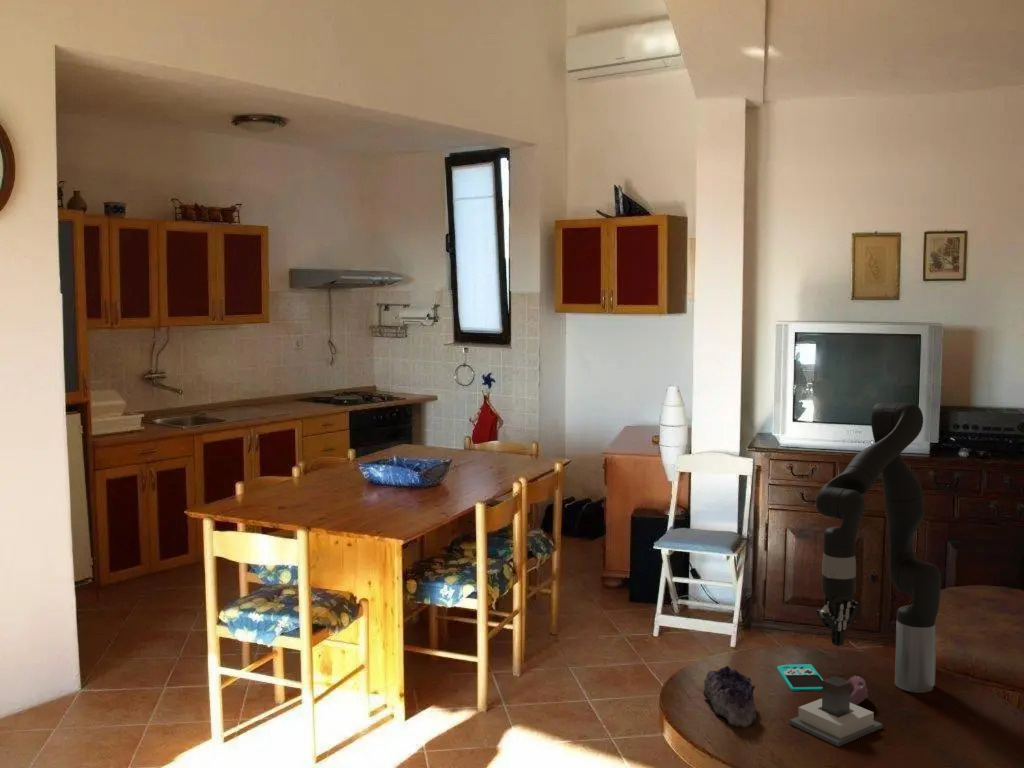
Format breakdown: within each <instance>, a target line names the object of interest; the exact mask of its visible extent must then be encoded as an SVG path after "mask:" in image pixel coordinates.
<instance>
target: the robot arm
mask: <svg viewBox="0 0 1024 768" xmlns="http://www.w3.org/2000/svg"><path fill="white" fill-rule="evenodd" d="M870 424H871V432H872V437H873V441H874V443H873V444H870V445H869V446H867V447H866V448H864V449H862V450H860V451H859V452H858V453H857V454H856V455H855V456H854V457H853V458H852V459H851V460H850V462H849V463H848V465H847V466H846V467H845V469H844V470H843V472H841V473H839V474H838V475H837V476H835V477H834V478H832V479H831V480H829V481H828V482H827V483H825V484H824V485H823V486H822V487H821V489H820V490H819V492H818V493H817V495H816V499H815V507H816V509H817V511H818V513H819V514H821V515H822V516H824V517H828V518H832V519H833V518H834V519H839V520H842V523H841V526H830V527H827V528H826V529H825V530H824V532H823V553H822V559H821V560H822V561H821V591H822V593H824V600H823V605H824V606H823V607H822V608H821V609H817V610H816V614H817V616H818V618H819V619H820V622H821V623H822V624H823V626H824V627H825V628H827V629H830V630H831V639H830V640H831V643H832V645H834V646H837V647H841V646H843V645H844V644H845V630H846V629H847V626H851V624H852V622H853V620H854V618H855V616H856V615H857V611H858V609H859V607H860V602H858V601H855V600H854V595H855V594H856V592H857V591H856V590H857V560H856V538H857V534H858V530H859V526H860V523H861V520H862V518H863V513H864V512H865V499H864V497H863V495H865V494H867V493H868V492H869V490H870V489H871V488H872V486H873V485H874V483H876V481H877V479H878V477H879V476H880V475H881V476H880V477H881V482H882V491H883V492H882V493H883V501H884V509H885V514H886V515H885V516H886V520H887V521H886V522H887V531H888V539H889V540H888V541H889V573H890V580H891V583H892V585H893V588H895V589H896V590H897V591H898V592H899V591H900V592H901V593H903V594H906V595H908V596H909V595H910V596H913V597H912V598H913V599H912V604H908V605H903V606H899V607H898V609H897V611H896V628H895V658H894V660H895V664H894V685H895V686H896V687H897V688H899V689H900V690H903V691H906V692H910V693H917V694H925V693H929V692H932V691H933V690H934V686H935V685H936V660H937V650H936V649H935V648H936V646H935V645H936V618H937V616H938V613H939V609H940V598H941V588H942V575H941V571H940V569H939V567H938V566H937V565H935V564H933V563H930V562H927V561H924V560H920V559H917V558H916V557H915V556H914V555H915V554H914V547H913V540H914V535H915V534H916V532H917V529H918V528H919V526H920V525H921V523H922V521H923V519H924V515H925V502H924V492H923V487H922V485H921V483H920V481H919V479H918V477H917V476H916V475H915V473H914V472H913V470H912V469H911V468H910V467H909V466H908V464H907V463H906V462H905V460H904V459H903V457H902V456H901V453H902V452H903V451H904V450H906V448H907V447H908V446H910V444H912V443H913V442H914V441H915V440H916V439H917V437H918V436H919V434H920V433H921V432H922V429H923V424H924V415H923V412H922V410H921V408H920V406H918V405H917V404H915V403H910V402H895V401H894V402H893V401H892V402H891V401H889V402H888V401H881V402H877V403H876V404H875V405H874V406H873V408H872V410H871V415H870Z"/></svg>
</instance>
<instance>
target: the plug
mask: <svg viewBox="0 0 1024 768" xmlns="http://www.w3.org/2000/svg"><path fill="white" fill-rule="evenodd" d="M850 694H851V692H850V682H849V681H848V680H846V679H843V678H841V677H839V676H835V675H834V676H831V677H829V678H825V679H823V685H822V690H821V695H822V696H821V697H822V711H824V712H826V713H829V714H831V715H833V716H836V717H838V718H839V717H841V716H844V715H846V714H849V712H850Z"/></svg>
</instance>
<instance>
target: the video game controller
mask: <svg viewBox="0 0 1024 768" xmlns="http://www.w3.org/2000/svg"><path fill="white" fill-rule="evenodd" d="M853 675H854V676H851V677H850V678H849V679H848V680H847V681H849V682H850V703H852V704H855V705H857V706H859V704H861V703H862V702H864V701H865V700H866V699H867V698H868V696H869V694H868V689H867V683H866V681H865V679H864V678H863V677H861V676H856V675H855V674H853Z"/></svg>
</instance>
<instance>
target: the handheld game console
mask: <svg viewBox="0 0 1024 768" xmlns="http://www.w3.org/2000/svg"><path fill="white" fill-rule="evenodd" d="M776 667H777V668H776V670H777V671H778V673H779V674H780V676H781V677H782V679H783V680H784V682H785V683H786V685H787V686H788V687H789V689H790V691H792V692H798V691H800V692H806V691H807V692H809V691H818V692H819V691H821V692H822V685H823V680H824V679H823V677H822V676H821V675H820V674H819V672H818V671H817V670H816V668H815V667H814V665H813V664H811V663H807V664H806V663H804V664H802V663H801V664H799V663H796V664H793V663H792V664H791V663H790V664H781V665H778V666H776Z"/></svg>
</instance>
